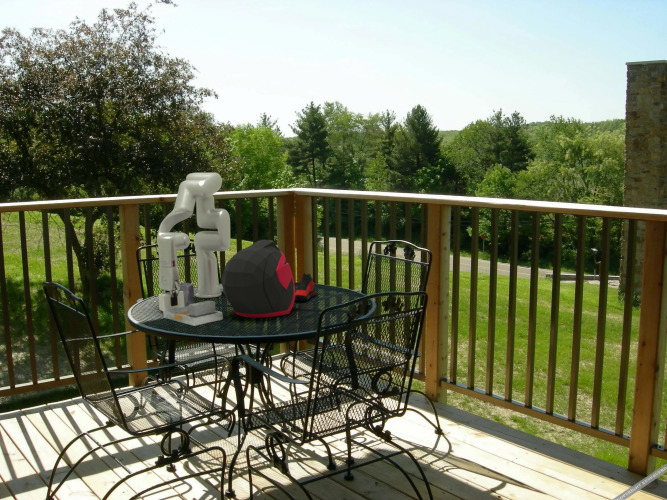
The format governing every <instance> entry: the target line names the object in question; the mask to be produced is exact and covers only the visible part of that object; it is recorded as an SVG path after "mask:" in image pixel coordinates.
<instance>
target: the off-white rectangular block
mask: <svg viewBox="0 0 667 500" xmlns="http://www.w3.org/2000/svg"><path fill="white" fill-rule="evenodd" d="M174 292H175V291H173V293H174ZM170 297H171V292H167V293H159V294H158V303H159V304H158V306H159V311H162V312H163V311H164V310H169V309H174V308H179V307H184V293H183V291H180V292H179V294H178V296H177V299H178V305H176V306H171V299H170Z"/></svg>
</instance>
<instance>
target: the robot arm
mask: <svg viewBox="0 0 667 500" xmlns="http://www.w3.org/2000/svg"><path fill="white" fill-rule="evenodd" d="M185 178H186V179H185V180H184V181H181V182H180V183H179V184H180V185H179V187H178V192H177V195H176V200H175V203H174V207H173V210H171V212H169V213H168V214H167V215H166V216H165V218H163V220H162V222H161V223H160V225H159V228H158V231H157V237H156V244H157V248H158V260H159V262H158V263H159V267H158V287H159V289H161V291H162V292H163V293H167V292H171V297H170V299H171V306H176V305H178V299H177V296H178V294H179V292H180V291H181V290H180V284H181V281H180V273H179V272H180V271H179V268H178V267H179V266H178V252H177V251H180V250H181V251H182V250H185V249H188V247H189V245H190V243H191V238H190V236H189V235H188V234H186V233H185V232H170V231H171V230H172V228H173V227H174V226H175V225H176V224H178V223H180V222H182V221H184V220H187V219H188V218H191V217H192V216H193V214H194V209H195V205H196V223H197V226H198V227H199V228H202V229H217V231H213V230H208V231H207V230H203V231H198V232H197V233H195V235H194V236H193V244H194V248H195V254H196V265H197V267H196V270H197V271H196V272H197V288H198V289H197V290H198V291H197V292H196V293H194V296H195V297H196V298H200V299H201V298H202V299H203V298H204V299H209V298H217V297H221V296H222V291H223V286H222V285H219V281H218V279H219V278H218V277H219V276H218V259H217V256H216V254H215V253H214V252H227V251H228V250H229V248H230V246H231V218H230V217H231V216H230V214H229V212H228V211H227V210H226V209H225V208H215V197H214V194H215V193H217V192H218V191H219V190H220V189H221V187H222V184H223V180H222V176H221V175H220V173H218V172H192V173H191V172H190V173H189V174H187V175H186V177H185ZM173 291H175V292H174V293H173ZM163 293H162V294H163Z"/></svg>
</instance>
